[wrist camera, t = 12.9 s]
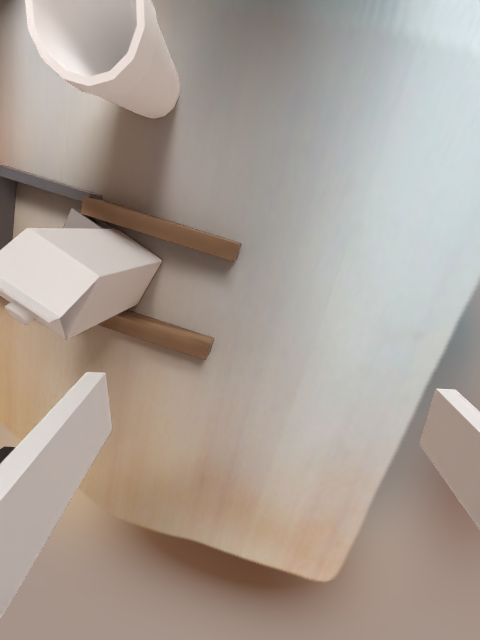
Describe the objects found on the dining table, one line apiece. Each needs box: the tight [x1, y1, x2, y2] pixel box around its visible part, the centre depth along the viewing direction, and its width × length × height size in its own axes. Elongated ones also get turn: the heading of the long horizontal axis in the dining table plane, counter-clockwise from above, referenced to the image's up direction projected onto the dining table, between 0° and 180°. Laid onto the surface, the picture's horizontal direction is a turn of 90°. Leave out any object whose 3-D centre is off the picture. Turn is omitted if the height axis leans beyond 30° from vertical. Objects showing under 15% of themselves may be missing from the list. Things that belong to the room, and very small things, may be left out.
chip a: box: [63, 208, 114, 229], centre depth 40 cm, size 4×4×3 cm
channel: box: [81, 196, 241, 360], centre depth 40 cm, size 15×19×3 cm
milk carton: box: [0, 228, 162, 340], centre depth 33 cm, size 7×7×19 cm
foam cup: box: [25, 0, 180, 119], centre depth 30 cm, size 10×9×13 cm
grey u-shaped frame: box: [0, 165, 102, 250], centre depth 41 cm, size 16×13×2 cm
